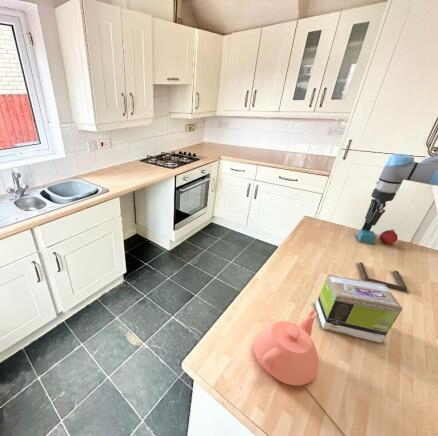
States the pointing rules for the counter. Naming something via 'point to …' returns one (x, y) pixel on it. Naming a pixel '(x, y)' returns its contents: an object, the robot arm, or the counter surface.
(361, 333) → the tea box
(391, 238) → the onion
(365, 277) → the frame
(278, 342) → the teapot
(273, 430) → the counter surface
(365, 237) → the teal block
